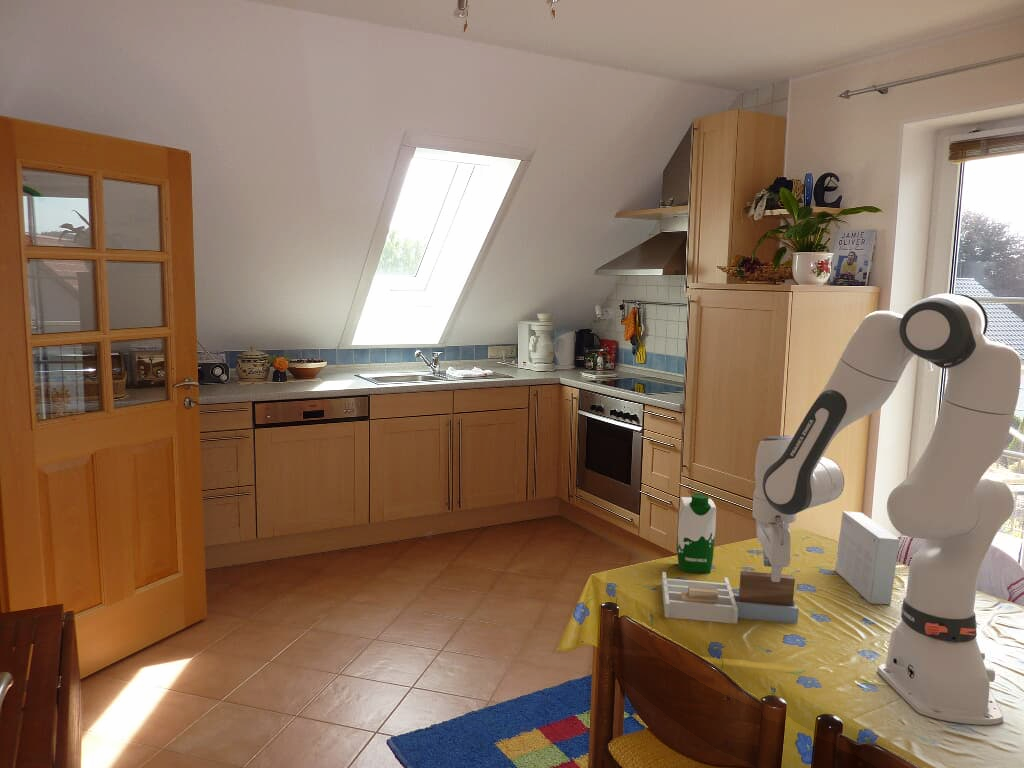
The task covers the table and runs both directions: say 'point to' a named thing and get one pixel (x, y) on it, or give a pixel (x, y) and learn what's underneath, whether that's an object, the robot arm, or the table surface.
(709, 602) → the offcut mid
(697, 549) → the milk carton
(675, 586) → the rack
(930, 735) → the table surface
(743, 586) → the walnut sheet
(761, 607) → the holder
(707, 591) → the offcut top
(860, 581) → the skincare box
